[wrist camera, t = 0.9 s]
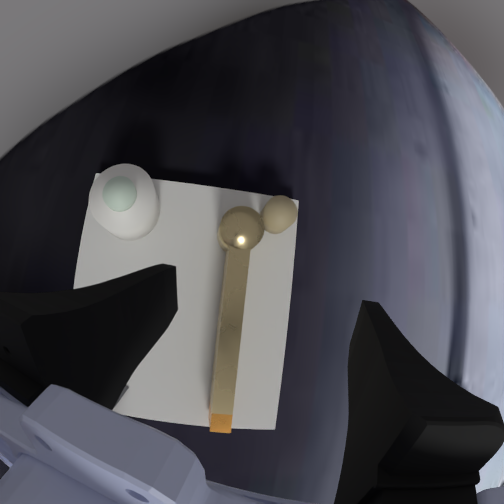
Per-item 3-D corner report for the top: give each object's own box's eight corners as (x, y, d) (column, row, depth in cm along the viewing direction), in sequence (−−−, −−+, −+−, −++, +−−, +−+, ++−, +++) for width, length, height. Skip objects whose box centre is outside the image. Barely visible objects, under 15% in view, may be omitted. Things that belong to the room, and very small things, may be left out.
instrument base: (270, 423, 26) (290, 452, 20) (72, 397, 23) (45, 418, 17) (293, 205, 29) (318, 181, 23) (100, 179, 27) (79, 149, 21)
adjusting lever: (236, 419, 24) (242, 433, 21) (197, 416, 23) (198, 430, 20) (258, 220, 27) (266, 209, 24) (219, 214, 26) (223, 202, 23)
